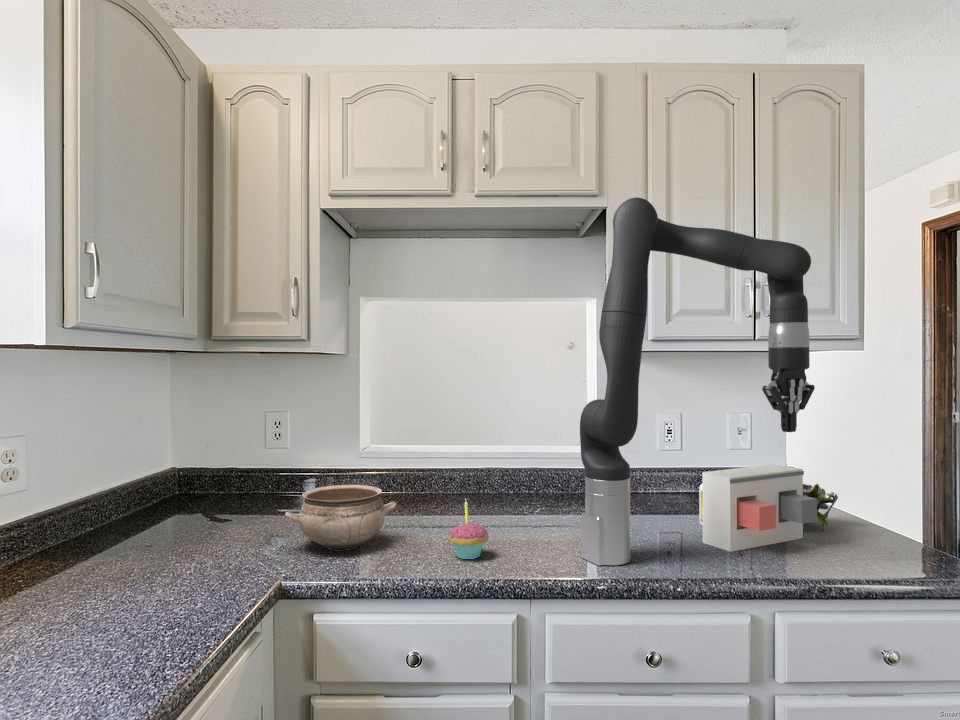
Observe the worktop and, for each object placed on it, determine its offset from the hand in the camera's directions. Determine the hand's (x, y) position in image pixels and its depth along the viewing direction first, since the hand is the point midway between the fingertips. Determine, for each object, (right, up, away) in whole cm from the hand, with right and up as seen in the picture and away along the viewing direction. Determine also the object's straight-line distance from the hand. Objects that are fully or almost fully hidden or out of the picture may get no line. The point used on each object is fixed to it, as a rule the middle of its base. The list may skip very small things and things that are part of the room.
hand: (788, 431), depth 133 cm
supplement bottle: (-4, -27, +31) cm, 42 cm away
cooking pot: (-93, -28, +15) cm, 98 cm away
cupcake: (-65, -28, +7) cm, 71 cm away
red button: (-3, -21, +9) cm, 24 cm away
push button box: (0, -27, +18) cm, 32 cm away
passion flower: (+19, -27, +30) cm, 44 cm away
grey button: (+9, -21, +15) cm, 28 cm away
